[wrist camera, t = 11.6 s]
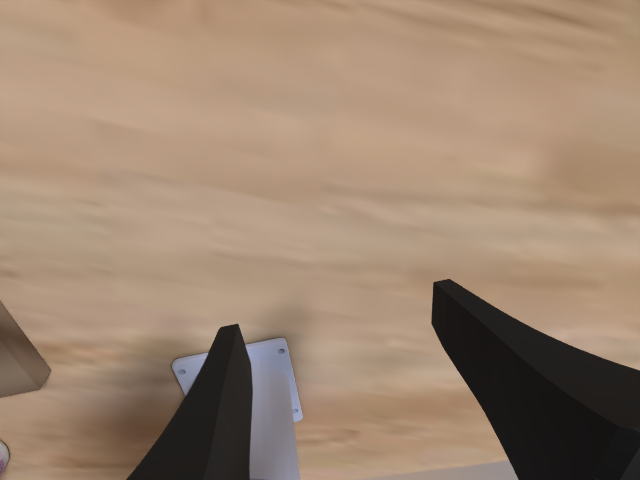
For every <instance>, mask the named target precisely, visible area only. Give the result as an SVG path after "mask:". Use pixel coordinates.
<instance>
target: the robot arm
mask: <svg viewBox="0 0 640 480" xmlns="http://www.w3.org/2000/svg"><path fill="white" fill-rule="evenodd" d="M431 323H432V325H433V328H434V330H435V332H436V334H437V336H438V338H439V340H440V342H441V344H442V346H443V348H444V350H445V351H446V353H447V354H448V356H449V358H450V359H451V361H452V362H453V364H454V365H455V367H456V368H457V370H458V371H459V373H460V374H461V376H462V378H463V379H464V381H465V382H466V384H467V385H468V387H469V388H470V390H471V391H472V393H473V394H474V396H475V397H476V399H477V400H478V402H479V404H480V405H481V407H482V409H483V410H484V412H485V414H486V416H487V418H488V420H489V421H490V423H491V425H492V427H493V429H494V431H495V433H496V435H497V437H498V439H499V441H500V443H501V445H502V447H503V449H504V451H505V453H506V455H507V457H508V459H509V461H510V463H511V464H512V466H513V469H514V471H515V473H516V475H517V477H518V479H519V480H640V371H639V370H636V369H633V368H630V367H627V366H624V365H621V364H618V363H615V362H612V361H609V360H606V359H603V358H601V357H598V356H596V355H593V354H590V353H588V352H585V351H583V350H580V349H577V348H575V347H573V346H570V345H568V344H566V343H563V342H561V341H559V340H557V339H555V338H552V337H550V336H548V335H546V334H544V333H542V332H540V331H538V330H535V329H533V328H532V327H530V326H528V325H526V324H524V323H522V322H520V321H518V320H517V319H515V318H513V317H511V316H509V315H508V314H506V313H504V312H502V311H501V310H499V309H497V308H496V307H494V306H492V305H491V304H489V303H487V302H486V301H484V300H482V299H481V298H479V297H478V296H476V295H474V294H473V293H471V292H470V291H468V290H466V289H465V288H463V287H462V286H460V285H459V284H457V283H455V282H454V281H452V280H450V279H447V280H442V281H437V282H434V284H433V303H432V322H431ZM279 349H282V350H279ZM172 369H173V371H174V373H175V375H176V377H177V379H178V381H179V383H180V385H181V387H182V390H183V392H184V394H185V396H186V397H185V398H184V400H183V402H182V403H181V405H180V407H179V408H178V410H177V412H176V413H175V415H174V416H173V418H172V419H171V421H170V422H169V424H168V425H167V427H166V428H165V430H164V431H163V433H162V434H161V436H160V437H159V438H158V440H157V441H156V442H155V444H154V445H153V446H152V448H151V449H150V451H149V452H148V453H147V455H146V456H145V457H144V459H143V460H142V461H141V462H140V464H139V465H138V466H137V467H136V469H135V470H134V471H133V472H132V474H131V475H130V476H129V477H128V478H127V479H126V480H300V472H299V463H298V454H297V445H296V437H295V428H294V422H298V421H300V420H301V419H302V418H303V415H302V410H301V405H300V401H299V396H298V391H297V387H296V382H295V378H294V373H293V368H292V364H291V359H290V355H289V350H288V345H287V341H286V340H285V339H284V338H276V339H271V340H266V341H261V342H257V343H252V344H247V345H245V343H244V340H243V337H242V334H241V331H240V328H239V325H238V324H234V325H229V326H224V327H221V328H220V329H219V330H218V332H217V335H216V337H215V340H214V342H213V344H212V346H211V349H210V351H209V352H208V353H203V354H198V355H193V356H188V357H183V358H178V359H176V360H174V362H173V365H172Z"/></svg>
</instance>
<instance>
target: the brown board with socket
mask: <svg viewBox="0 0 640 480" xmlns="http://www.w3.org/2000/svg"><path fill="white" fill-rule="evenodd" d="M50 372H51V369H50V368H49V367H48V365H47V364H46V363H45V361H44V360H43V359H42V357H41V356H40V354H39V353H38V352H37V350H36V349H35V348H34V346H33V345H32V344H31V342H30V341H29V340H28V338H27V337H26V336H25V334H24V333H23V331H22V330H21V329H20V327H19V326H18V325H17V323H16V322H15V321H14V319H13V318H12V317H11V315H10V314H9V313H8V311H7V310H6V308H5V307H4V306H3V304H2V303H1V302H0V398H2V397H7V396H12V395H16V394H21V393H26V392H31V391H36V390H40V388H41V387H42V385H43V383H44V382H45V380H46V378H47V377H48V375H49V373H50Z"/></svg>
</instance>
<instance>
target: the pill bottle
mask: <svg viewBox="0 0 640 480" xmlns="http://www.w3.org/2000/svg"><path fill="white" fill-rule="evenodd" d="M8 460H9V452H8V449H7V447H6V445H5V444H4V443H3V442H2V441H0V475H1V474H2V472H3V470H4V468H5V466H6V465H7V462H8Z"/></svg>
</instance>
